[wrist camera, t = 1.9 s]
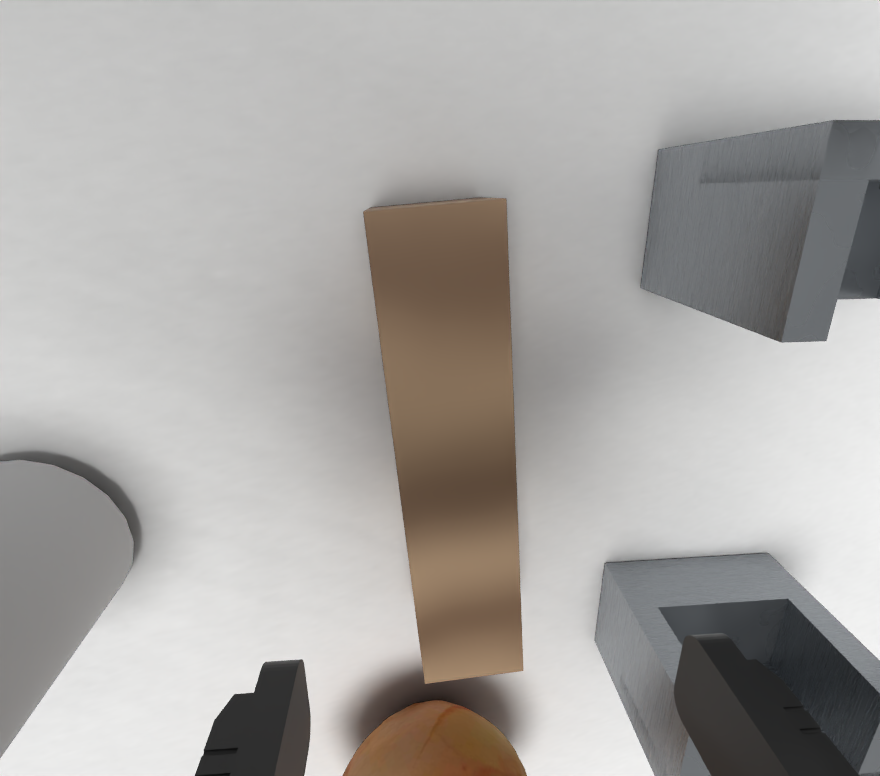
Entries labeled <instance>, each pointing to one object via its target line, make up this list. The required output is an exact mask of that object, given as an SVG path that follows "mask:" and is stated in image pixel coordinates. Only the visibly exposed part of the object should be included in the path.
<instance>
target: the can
mask: <svg viewBox="0 0 880 776" xmlns="http://www.w3.org/2000/svg"><path fill="white" fill-rule="evenodd" d="M133 550H134V540H133V537H132V535H131V532H130V529H129V526H128V523H127V520H126V518H125V517H124V515H123V514H122V513H121V511H120V510H119V509H118V508H117V506H116V505H115V504H114V502H113V501H112V500H111V499H110V497H109V496H108V495H107V494H105V493H104V492H102V491H101V490H100V489H98V488H97V487H96V486H94V485H93V484H92V483H90V482H89V481H88V480H86V479H85V478H84V477H81V476H79V475H76V474H74V473H72V472H69V471H67V470H64V469H62V468H60V467H57V466H55V465H51V464H45V463H39V462H32V461H26V460H11V461H1V462H0V758H1V756H2V755H3V754H4V752H5V751H6V749H7V748H8V746H9V745H10V744H11V742H12V741H13V739H14V738H15V737H16V735H17V734H18V732H19V731H20V729H21V728H22V727H23V725H24V724H25V722H26V721H27V719H28V718H29V717H30V715H31V714H32V712H33V711H34V709H35V708H36V707H37V705H38V704H39V702H40V701H41V699H42V698H43V697H44V695H45V694H46V692H47V691H48V689H49V688H50V687H51V685H52V684H53V682H54V681H55V679H56V678H57V677H58V675H59V674H60V672H61V671H62V669H63V668H64V667H65V665H66V664H67V662H68V661H69V659H70V658H71V657H72V655H73V654H74V652H75V651H76V649H77V648H78V647H79V645H80V644H81V642H82V641H83V639H84V638H85V637H86V635H87V634H88V632H89V631H90V629H91V628H92V627H93V625H94V624H95V622H96V621H97V620H98V618H99V617H100V615H101V614H102V612H103V611H104V610H105V608H106V607H107V605H108V604H109V602H110V601H111V600H112V598H113V597H114V595H115V594H116V592H117V591H118V590H119V588H120V587H121V585H122V584H123V582H124V580H125V578H126V576H127V574H128V572H129V570H130V568H131V566H132V564H133Z"/></svg>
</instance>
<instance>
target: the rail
mask: <svg viewBox="0 0 880 776" xmlns="http://www.w3.org/2000/svg"><path fill="white" fill-rule="evenodd" d="M363 214H364V222H365V230H366V237H367V245H368V253H369V260H370V268H371V276H372V283H373V291H374V298H375V306H376V314H377V321H378V329H379V337H380V344H381V352H382V360H383V367H384V375H385V382H386V390H387V398H388V405H389V413H390V421H391V428H392V436H393V444H394V451H395V459H396V467H397V474H398V482H399V489H400V497H401V505H402V512H403V520H404V528H405V535H406V543H407V551H408V558H409V566H410V573H411V581H412V589H413V596H414V604H415V612H416V619H417V627H418V635H419V642H420V650H421V657H422V665H423V673H424V680H425V684H428V683H436V682H443V681H451V680H458V679H465V678H473V677H480V676H488V675H495V674H503V673H510V672H517V671H523V650H522V622H521V594H520V566H519V538H518V511H517V483H516V455H515V427H514V399H513V371H512V343H511V316H510V288H509V260H508V232H507V204H506V199H504V198H482V197H480V198H469V199H458V200H447V201H436V202H425V203H414V204H403V205H392V206H381V207H371V208H369V209H367V210H365V211H364V212H363Z"/></svg>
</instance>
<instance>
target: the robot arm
mask: <svg viewBox="0 0 880 776" xmlns="http://www.w3.org/2000/svg"><path fill="white" fill-rule="evenodd" d="M674 698H675V704H676V708H677V711H678V714H679V717H680V719H681V721H682V723H683V725H684V727H685V729H686V730H687V732H688V734H689V736H690V738H691V740H692V741H693V743H694V745H695V747H696V749H697V751H698V752H699V754H700V756H701V758H702V760H703V762H704V764H705V765H706V767H707V769H708V771H709V773H710V775H711V776H859V775H858V773H857V772H856V771H855V770H854V768H853V767H852V766H851V765H850V763H849V762H848V761H847V760H846V758H845V757H844V756H843V755H842V753H841V752H840V751H839V750H838V748H837V747H836V746H835V745H834V743H833V742H832V741H831V740H830V738H829V737H828V736H827V735H826V733H822V731H821V727H820V726H819V725H818V723H817V722H816V721H815V720H814V718H813V717H812V716H811V715H810V713H809V712H808V711H805V710H804V708H803V705H802V703H801V702H800V701H799V700H798V698H797V697H796V696H795V695H794V693H793V692H792V691H791V690H790V688H789V687H788V686H787V685H786V683H785V682H784V681H783V680H782V679H781V678H779V677H778V676H777V675H776V674H774V673H773V672H772V671H770V670H769V669H768V668H767V667H765V666H764V665H763V664H762V663H760V662H759V661H758V660H756V659H752V660H747V659H746V658H745V657H744V655H743V654H742V653H741V651H740V650H739V649H738V648H737V646H736V645H735V644H734V642H733V641H732V640H731V639H730V638H729V637H728V636H727V635H725V634H723V633H715V634H700V635H688V636H686V637H685V638H684V641H683V645H682V650H681V655H680V660H679V665H678V669H677V674H676V679H675V684H674ZM309 741H310V707H309V699H308V691H307V684H306V676H305V668H304V662H303V660H287V661H272V662H265V663H264V664H263V666H262V668H261V671H260V675H259V678H258V681H257V685H256V688H255V692H254V693H246V694H234V696H233V697H232V698H231V699H230V701H229V702H228V703H227V705H226V706H225V707H224V709H223V710H222V711H221V713H220V714H219V715H218V716H217V718H216V719H215V720H214V723H213V726H212V729H211V732H210V735H209V737H208V740H207V743H206V746H205V749H204V755H203V756H202V757H201V760H200V763H199V766H198V768H197V771H196V774H195V776H304V773H305V767H306V761H307V755H308V749H309Z"/></svg>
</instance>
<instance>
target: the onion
mask: <svg viewBox="0 0 880 776" xmlns="http://www.w3.org/2000/svg"><path fill="white" fill-rule="evenodd" d="M343 776H527V775H526V772H525V769H524V767H523V765H522V763H521V761H520V759H519V757H518V755H517V753H516V751H515V750H514V748H513V746H512V745H511V744H510V742H509V741H508V740H507V738H506V737H505V736H504V734H503V733H502V732H501V731H500V730H499V729H498V728H497V727H496V726H494V725H493V724H492V723H491V722H489V721H488V720H486V719H485V718H483V717H482V716H480V715H478V714H476V713H475V712H473V711H471V710H469V709H468V708H466V707H463V706H460V705H456V704H453V703H450V702H447V701H442V700H432V701H427V702H421V703H414V704H412V705H410V706H408V707H406V708H404V709H402V710H401V711H399V712H397V713H395V714H393V715H391V716H390V717H388V718H387V719H386V720H384V721H383V722H382V723H381V724H380V725H379V726H378V727H377V728H376V729H375V730H374V731H373V732H372V733H371V734H370V735H369V736H368V737H367V738H366V739H365V740H364V741H363V743H362V744H361V745H360V747H359V748H358V749H357V751H356V752H355V754H354V756H353V757H352V759H351V761H350V762H349V764H348V766H347V768H346V770H345V772H344V774H343Z"/></svg>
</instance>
